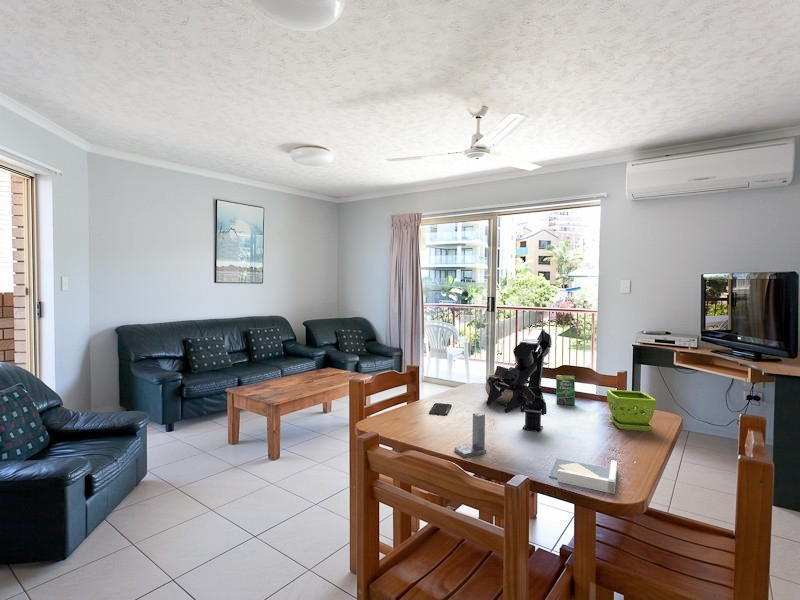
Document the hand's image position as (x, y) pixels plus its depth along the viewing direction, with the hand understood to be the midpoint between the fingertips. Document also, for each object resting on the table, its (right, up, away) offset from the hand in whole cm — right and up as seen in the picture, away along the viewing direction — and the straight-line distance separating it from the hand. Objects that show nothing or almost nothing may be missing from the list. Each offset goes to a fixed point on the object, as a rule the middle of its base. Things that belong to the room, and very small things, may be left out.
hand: (495, 408), depth 140 cm
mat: (+20, -14, -19) cm, 31 cm away
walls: (+21, -14, -21) cm, 33 cm away
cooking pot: (+17, -12, +54) cm, 58 cm away
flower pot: (+57, -13, +22) cm, 62 cm away
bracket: (-9, -13, -4) cm, 16 cm away
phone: (-14, -12, +43) cm, 47 cm away
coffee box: (+44, -12, +53) cm, 70 cm away
